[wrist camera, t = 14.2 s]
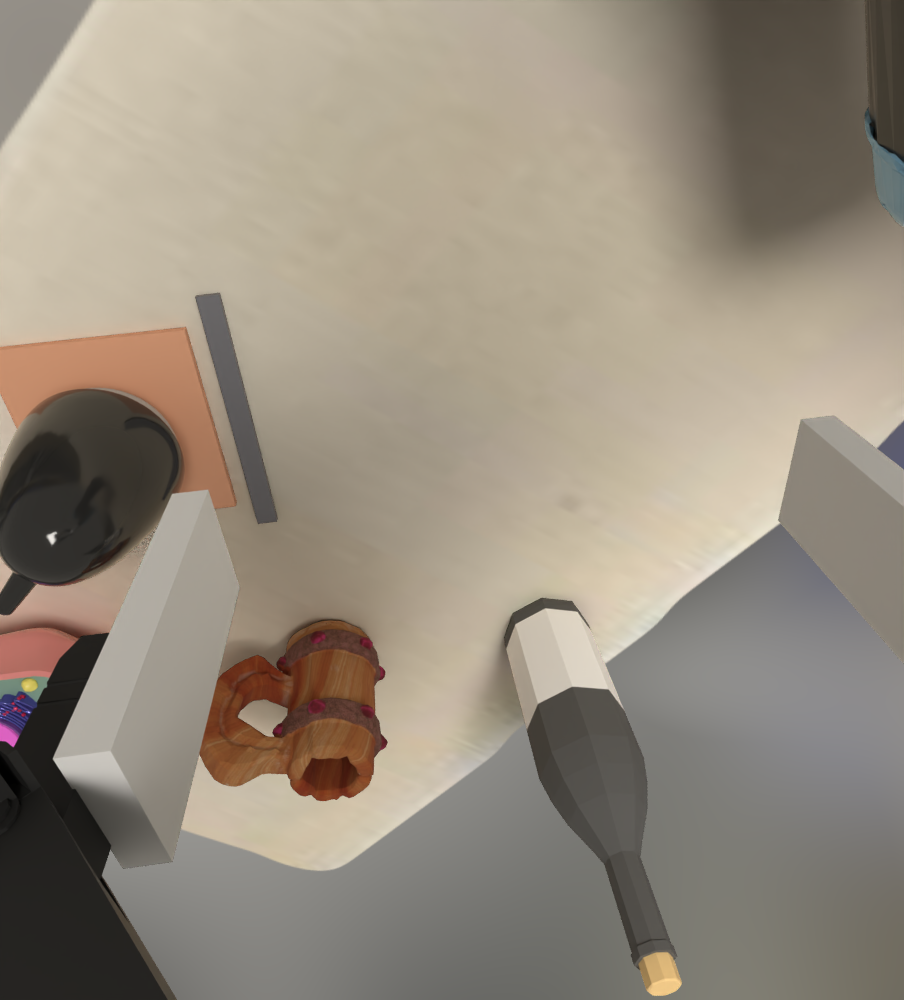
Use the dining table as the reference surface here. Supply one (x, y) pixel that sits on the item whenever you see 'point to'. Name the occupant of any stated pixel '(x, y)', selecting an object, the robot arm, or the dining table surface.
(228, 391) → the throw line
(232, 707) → the mug
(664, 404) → the dining table surface
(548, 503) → the dining table surface
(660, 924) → the wine bottle
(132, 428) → the pump dispenser
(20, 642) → the cell model
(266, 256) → the dining table surface
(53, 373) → the mat
